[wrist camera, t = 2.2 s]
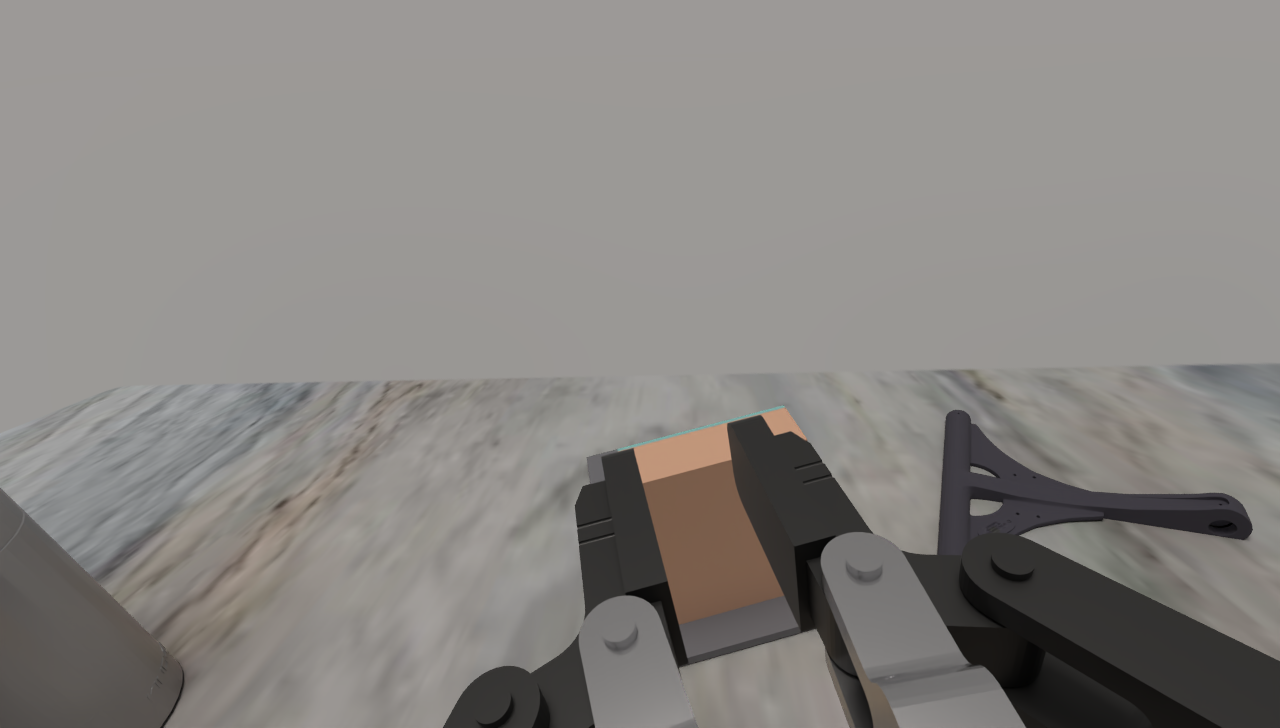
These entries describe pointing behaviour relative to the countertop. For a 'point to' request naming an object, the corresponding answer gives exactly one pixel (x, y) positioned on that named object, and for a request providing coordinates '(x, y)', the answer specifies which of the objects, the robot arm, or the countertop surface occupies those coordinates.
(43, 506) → the countertop surface
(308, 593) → the countertop surface
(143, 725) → the robot arm
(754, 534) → the tile
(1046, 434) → the countertop surface
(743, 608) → the mat
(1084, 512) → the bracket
